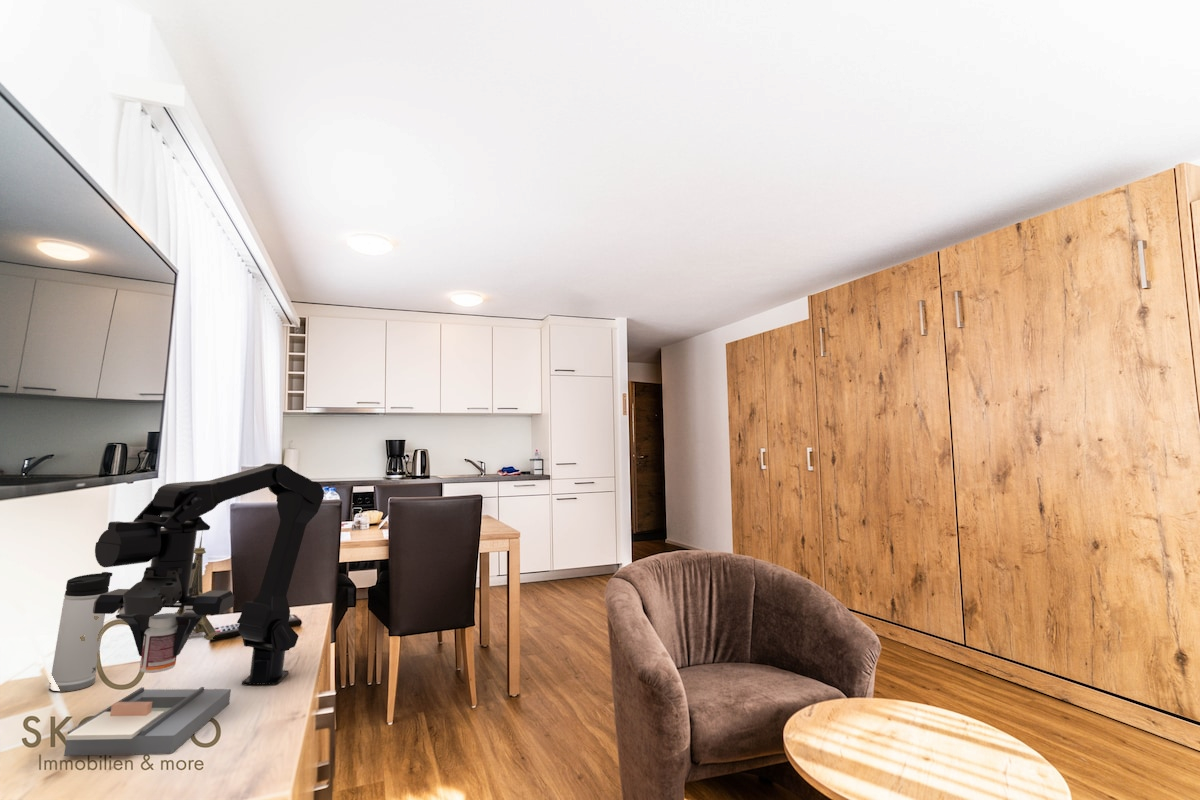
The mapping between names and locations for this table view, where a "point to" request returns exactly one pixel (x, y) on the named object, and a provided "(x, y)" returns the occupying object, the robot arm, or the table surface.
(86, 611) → the travel mug
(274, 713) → the table surface
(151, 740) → the board
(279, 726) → the table surface
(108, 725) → the cover
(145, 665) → the pill bottle
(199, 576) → the eiffel tower
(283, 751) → the table surface
